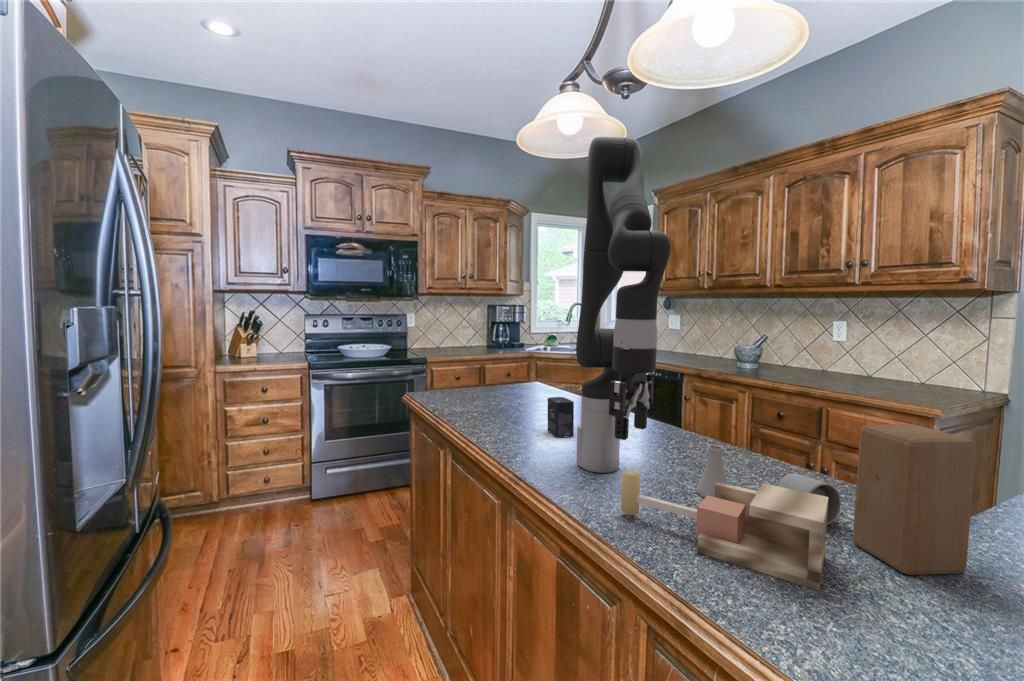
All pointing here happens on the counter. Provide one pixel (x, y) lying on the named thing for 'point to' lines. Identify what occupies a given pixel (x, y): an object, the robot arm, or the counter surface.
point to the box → (560, 416)
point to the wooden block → (914, 497)
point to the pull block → (690, 510)
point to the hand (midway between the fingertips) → (631, 433)
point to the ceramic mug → (814, 491)
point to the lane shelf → (775, 533)
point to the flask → (712, 472)
